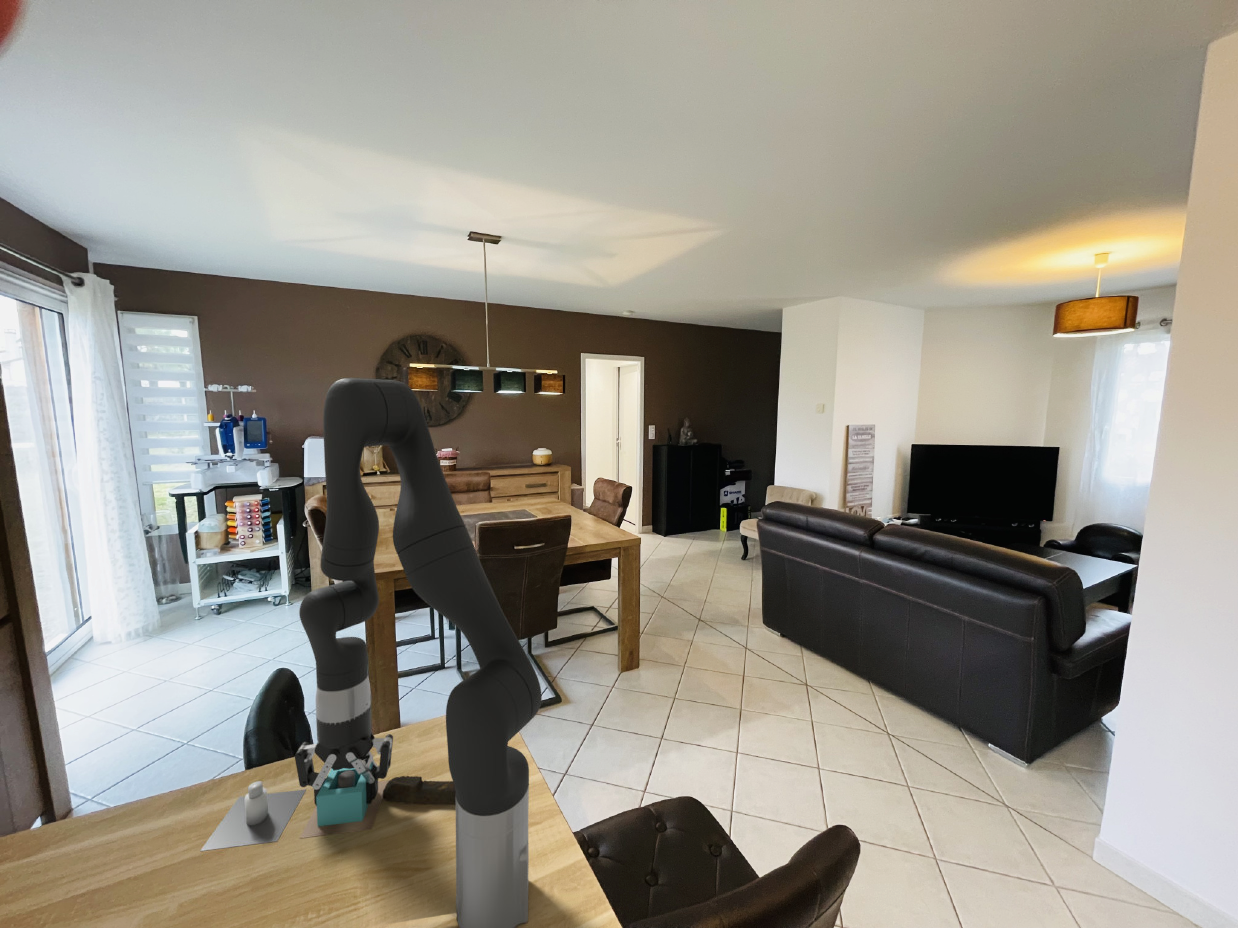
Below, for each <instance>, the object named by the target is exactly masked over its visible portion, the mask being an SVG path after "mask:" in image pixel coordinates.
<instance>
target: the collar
mask: <svg viewBox="0 0 1238 928" xmlns="http://www.w3.org/2000/svg"><path fill="white" fill-rule="evenodd" d="M349 770H351V771H354V772H355V787H349V788H340V789H338V776H339V775H340V774H341V773H343V772H345V771H349ZM366 783H367V781H366V780H365V778H364V777H363V776H362V775H359V774H358V772H357V771H356V769H355V768H352V769H347V768H343V769H340V770H333V769H332V768H331V769H330V771H329V773H328V774H327V776H326V780H325V781H324V783H323V785H322V787H321V789H320V791H319V793H318V795H317V796H316V802H317V825H318V826H326V825H334V824H342V823H350V822H358V821H363V818H364V816H365V813H366V810H367V808H368V805H369V804H367V803H366Z"/></svg>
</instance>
